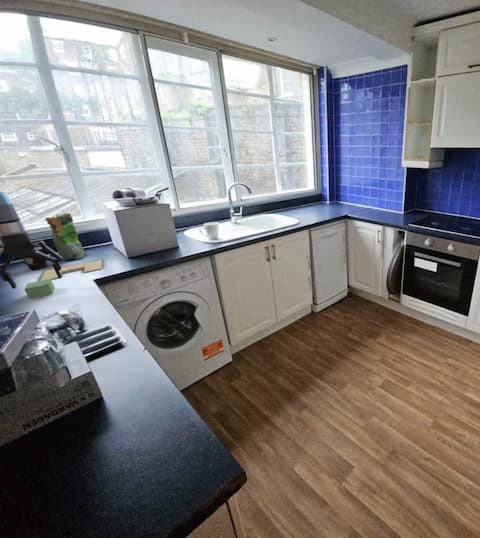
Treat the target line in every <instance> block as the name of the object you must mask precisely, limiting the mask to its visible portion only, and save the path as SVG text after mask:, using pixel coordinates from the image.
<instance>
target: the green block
mask: <svg viewBox="0 0 480 538" xmlns="http://www.w3.org/2000/svg"><path fill="white" fill-rule="evenodd" d="M55 289H56V287H55V284H54V283H53V280H51V279H47V280H42V281H40V280H37V281H32V282H28V283H26V285H25V287H24V288H23V290H24V291H25V293H26V296H27V298H28V299H30V300H31V299H35V298H39V297H40V298H41V297H44V296H48V295H52V294H54V293H55Z"/></svg>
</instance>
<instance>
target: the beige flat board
mask: <svg viewBox="0 0 480 538" xmlns="http://www.w3.org/2000/svg"><path fill="white" fill-rule="evenodd" d="M82 269H83V273H84V274H89V273H93V272H97V271H102V269H103V261H102V259H100V260H94V261H89V262H83V263H79V264H78V263H77V264H74V265H68V266H63V267H61V270H59V271H60V273H61V275H62V276H63V274H68V273H72V271H73V272H77V270H78V271H82ZM47 279H51V281H54V280H60V279H59V278H58V276H57V274H56V272H55V270H54V268H53V269H48V270H44V272H43V273H42V276H41V277H40V279H39V281H42V280H47Z"/></svg>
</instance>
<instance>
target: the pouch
mask: <svg viewBox="0 0 480 538" xmlns="http://www.w3.org/2000/svg"><path fill="white" fill-rule="evenodd" d="M44 220H45V221H46V224H47V225H49V227H50V229H51V231H52V233H51V236H52V241H53V244H54V247H55V248H56V251H57V253H58V254H59V255H60V256H62V257H63V260H62V261H66V260H67V261H68V260H81V259H84V258H85V257H86V256H87V255H86V252H85V250H84V249H83V246H82V242H80V241H79V233H77V231H76V226H75V224H74V219H73V216H72V214H71V213H67V212H66V213H63V214H60V215H59V214H56V216H52V217H46V218H45V219H44Z"/></svg>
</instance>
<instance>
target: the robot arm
mask: <svg viewBox="0 0 480 538" xmlns="http://www.w3.org/2000/svg"><path fill="white" fill-rule="evenodd" d="M25 230H26V227H25V226H24V224H23V222H22V220H21V218H20V217H19V215H18V212H17V210H16V208H15V206H14V204H13V202H12V200H11V199H10V197H9V195H8V194H7V193H6V192H4V191H0V243H1V244H2V246H3V247H0V257H1V255H2V254H3V253H4V252H5V253H6V254H9V255H8V256H7V258H6V260H5V261H4V264H3V265H2V266H1V268H0V277H1V279H2V280H3V281H4V282H8V283H9V286H10V287H11V289H12V290H13V289H17V287H18V285H17V283H16V282H15V279H14V278H13V277H12V275H11V273H10V271H7V269H8V267H10V264H11V262H12V261H13V259H14V258H15V257H16V258H21V256H27V255H30V254H33V255H36V256H39V257H41V258H43V259H45V260H48V261H47V262H50V263H52V264H51V265H52V268H53V269H54V270H55V272H56V274H57V276H58V278H59V279H58V280H61V279H62V278H63V274H62V275H61V273H60V271H59V270H61V268H62V266H61V264H60V262H62V261H64V260H63V257H62V256H60V254H59V252H56V251H55V250H54V249H52V248H51V247H50V246H48V245H47V244H46V243H45V241H43V240H40V241H37V242H33V241H32V240H31V237H30V235H29V234H28V232H27V231H25ZM36 247H41V248H42V250H43V251H46V252H44V253H41V252H39V251H38V250H35V249H34V248H36ZM46 253H47V254H46ZM48 254H49V255H48ZM51 255H52V257H50V256H51Z"/></svg>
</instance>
